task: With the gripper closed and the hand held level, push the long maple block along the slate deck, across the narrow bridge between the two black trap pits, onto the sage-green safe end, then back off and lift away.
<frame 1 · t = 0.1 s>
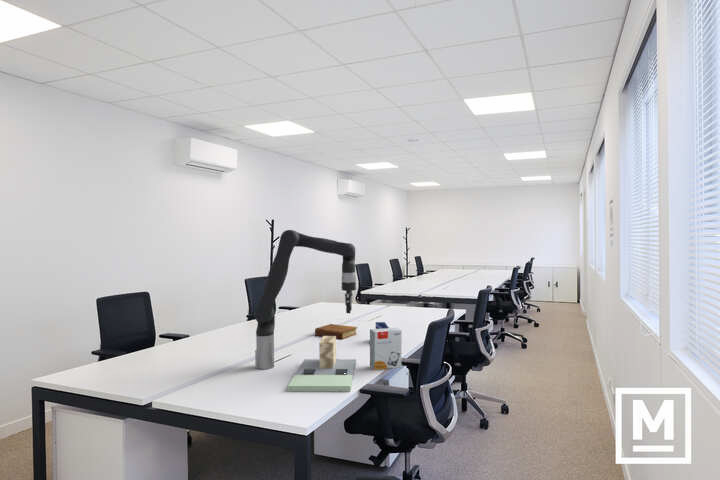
hand: (348, 311, 242), 29 cm above the table, tool pointing down, fingers open, 8 cm apart
maple block: (328, 363, 240), point 2 cm above the table, touching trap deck
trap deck: (325, 375, 229), on the table
hard drive box: (385, 367, 241), on the table
diary: (336, 336, 321), on the table
phone stand: (385, 342, 298), on the table
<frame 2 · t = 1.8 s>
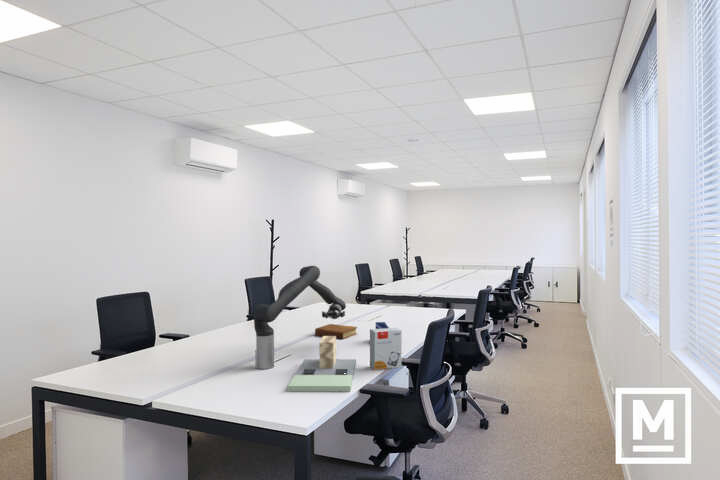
hand: (331, 316, 258), 24 cm above the table, tool horizontal, fingers open, 5 cm apart
nothing on the table moved.
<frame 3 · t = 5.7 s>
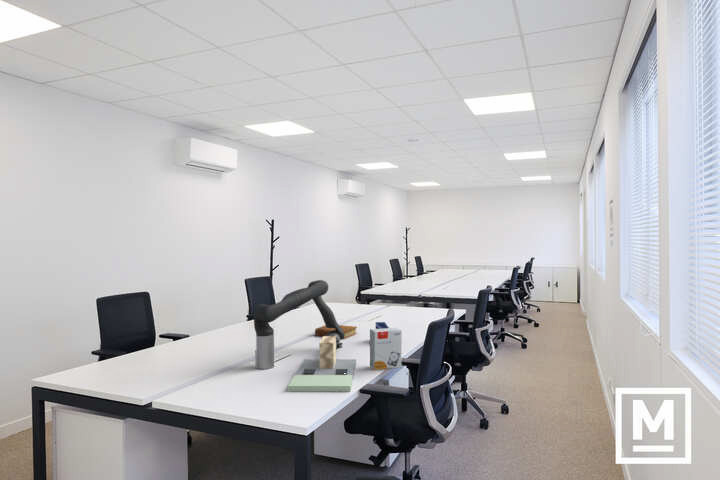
hand: (329, 349, 247), 9 cm above the table, tool horizontal, fingers closed
maple block: (328, 364, 239), point 3 cm above the table, touching gripper
everything else where it was.
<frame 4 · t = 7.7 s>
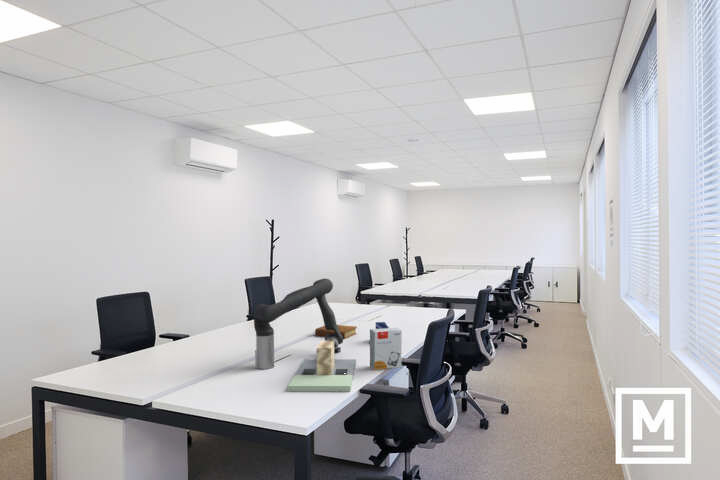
hand: (327, 354, 236), 9 cm above the table, tool horizontal, fingers closed
maple block: (326, 370, 229), point 3 cm above the table, touching gripper
everything else where it was.
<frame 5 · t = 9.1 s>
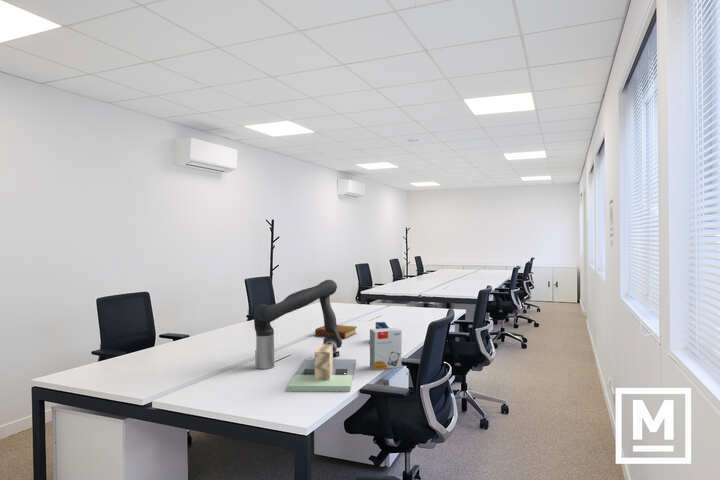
hand: (325, 358, 228), 9 cm above the table, tool horizontal, fingers closed
maple block: (324, 375, 221), point 3 cm above the table, touching gripper
everything else where it was.
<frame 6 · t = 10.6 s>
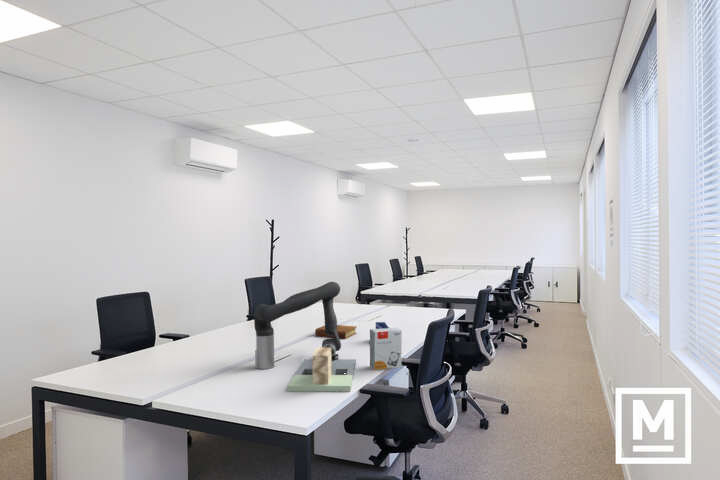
hand: (324, 361, 222), 9 cm above the table, tool horizontal, fingers closed
maple block: (322, 379, 215), point 2 cm above the table, touching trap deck
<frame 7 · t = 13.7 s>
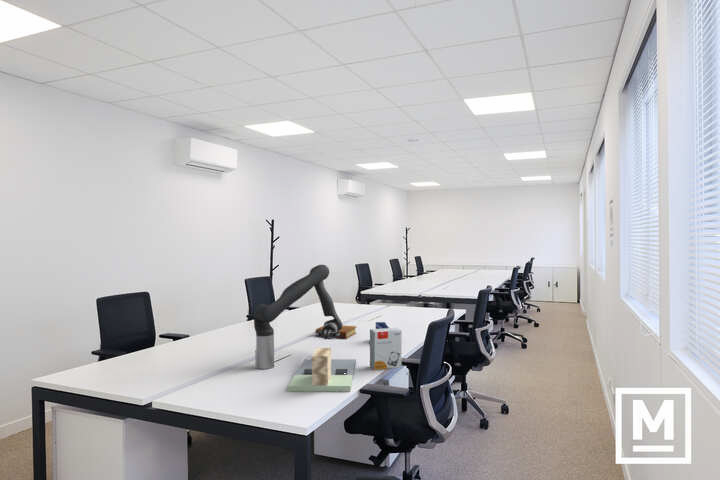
hand: (325, 337, 232), 18 cm above the table, tool horizontal, fingers closed
maple block: (322, 379, 213), point 2 cm above the table, touching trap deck
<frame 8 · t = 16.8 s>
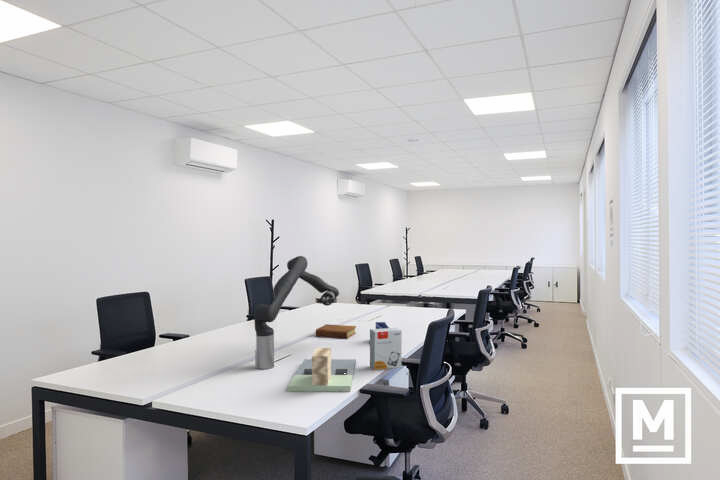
hand: (324, 302, 258), 32 cm above the table, tool horizontal, fingers closed
at the end: maple block inside the target area on the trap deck (1.1 cm from its centre), point 2.5 cm above the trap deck's base; maple block tilted 0°; the gripper is holding nothing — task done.
